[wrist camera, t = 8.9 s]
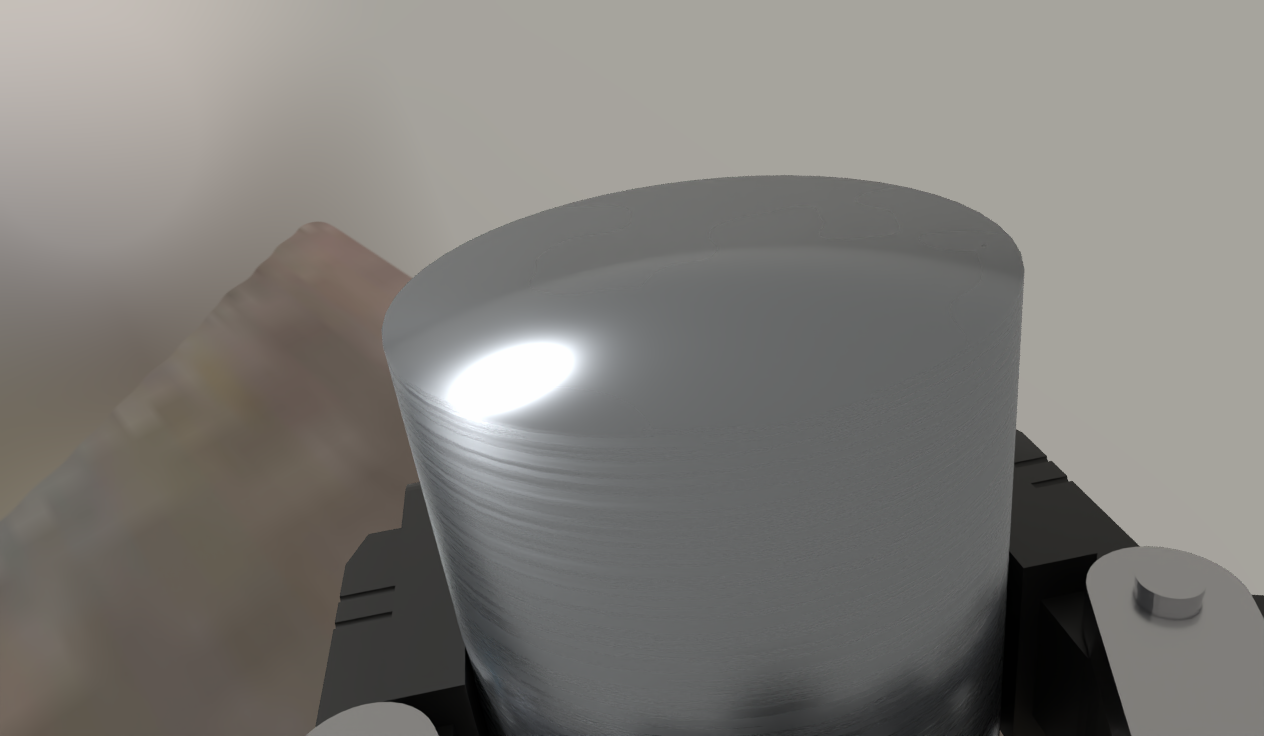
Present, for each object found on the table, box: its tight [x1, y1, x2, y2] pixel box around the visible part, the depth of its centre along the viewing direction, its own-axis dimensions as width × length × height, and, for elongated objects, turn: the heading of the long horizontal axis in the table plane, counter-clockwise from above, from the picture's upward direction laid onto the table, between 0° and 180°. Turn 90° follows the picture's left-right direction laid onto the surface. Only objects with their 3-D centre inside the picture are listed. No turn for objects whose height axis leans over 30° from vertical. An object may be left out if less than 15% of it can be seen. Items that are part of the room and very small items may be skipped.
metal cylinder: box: [382, 175, 1024, 736], centre depth 10 cm, size 5×5×10 cm
